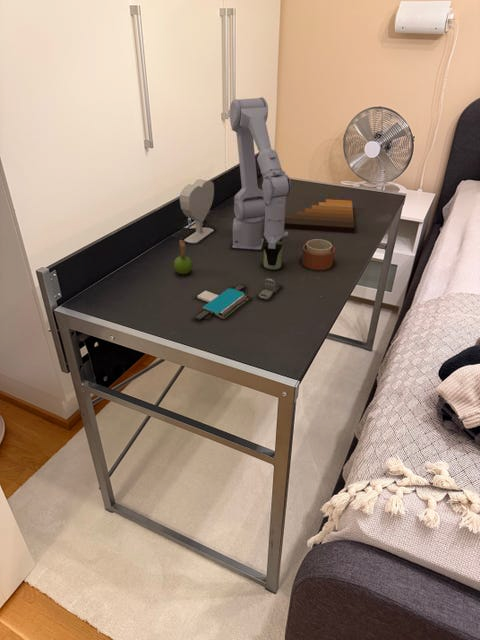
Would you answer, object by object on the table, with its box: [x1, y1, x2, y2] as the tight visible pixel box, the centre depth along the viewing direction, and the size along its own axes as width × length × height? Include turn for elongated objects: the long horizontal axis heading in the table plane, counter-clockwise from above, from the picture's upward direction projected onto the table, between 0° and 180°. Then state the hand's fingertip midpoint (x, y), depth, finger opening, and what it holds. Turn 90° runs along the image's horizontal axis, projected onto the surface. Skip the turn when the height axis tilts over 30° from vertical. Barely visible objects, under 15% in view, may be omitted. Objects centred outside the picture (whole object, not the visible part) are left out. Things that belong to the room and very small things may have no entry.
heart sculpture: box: [179, 179, 215, 244], centre depth 158 cm, size 16×5×18 cm, turn 152°
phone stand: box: [195, 284, 250, 321], centre depth 126 cm, size 20×12×2 cm, turn 146°
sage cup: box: [262, 240, 284, 270], centre depth 142 cm, size 6×6×7 cm
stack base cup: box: [301, 243, 336, 271], centre depth 144 cm, size 10×10×5 cm
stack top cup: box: [305, 238, 333, 254], centre depth 144 cm, size 8×8×6 cm
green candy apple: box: [173, 239, 193, 275], centre depth 136 cm, size 5×6×12 cm
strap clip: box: [258, 277, 281, 301], centre depth 130 cm, size 8×3×4 cm, turn 150°
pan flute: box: [284, 198, 355, 233], centre depth 175 cm, size 25×3×25 cm
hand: (272, 260), depth 143 cm, fingers closed on sage cup, 5 cm apart
